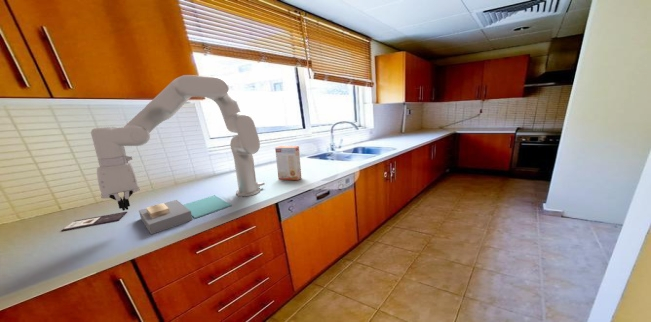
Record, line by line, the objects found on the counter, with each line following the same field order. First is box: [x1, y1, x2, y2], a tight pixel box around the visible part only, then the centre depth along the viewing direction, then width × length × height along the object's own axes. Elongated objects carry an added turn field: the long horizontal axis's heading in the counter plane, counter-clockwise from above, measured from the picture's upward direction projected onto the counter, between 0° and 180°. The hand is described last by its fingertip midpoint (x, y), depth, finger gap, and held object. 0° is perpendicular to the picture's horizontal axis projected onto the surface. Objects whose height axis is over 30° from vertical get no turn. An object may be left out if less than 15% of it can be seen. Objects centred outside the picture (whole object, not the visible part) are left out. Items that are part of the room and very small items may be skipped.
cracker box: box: [274, 145, 302, 181], centre depth 140 cm, size 14×6×21 cm, turn 69°
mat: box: [183, 195, 233, 219], centre depth 105 cm, size 16×20×1 cm
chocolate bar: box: [60, 211, 128, 232], centre depth 96 cm, size 9×1×18 cm
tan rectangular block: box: [145, 202, 170, 218], centre depth 91 cm, size 6×9×2 cm, turn 48°
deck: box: [138, 199, 193, 235], centre depth 94 cm, size 14×20×4 cm
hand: (125, 209), depth 84 cm, fingers closed
